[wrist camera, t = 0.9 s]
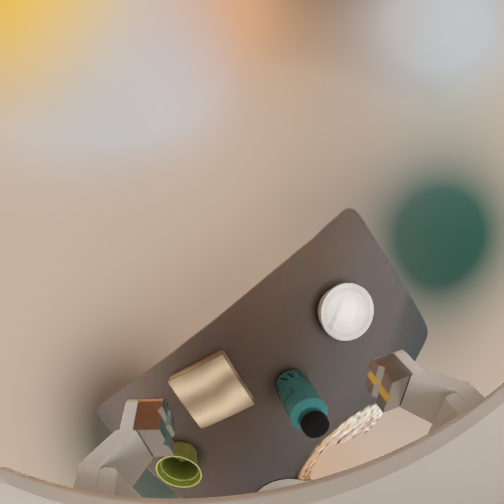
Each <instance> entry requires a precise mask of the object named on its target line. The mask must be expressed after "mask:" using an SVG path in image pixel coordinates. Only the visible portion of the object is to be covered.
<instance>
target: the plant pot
mask: <svg viewBox="0 0 504 504" xmlns="http://www.w3.org/2000/svg"><path fill="white" fill-rule="evenodd" d="M156 472H157V474H158V476H159V477H160V478H161V479H162V480H163V481H164V482H166V483H168V484H170V485H172V486H175V487H182V488H186V487H192V486H194V485H196V484H198V483H199V482H200V480H201V478H202V471H201V469H200V467H199V466H198V459H197V451H196V449H195V447H194V446H193V445H191V444H189V443H185V442H182V441H180V442H175V449H174V456H164V457H163V458H161V459H160V460H159V461H158V462H157V464H156Z"/></svg>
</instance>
